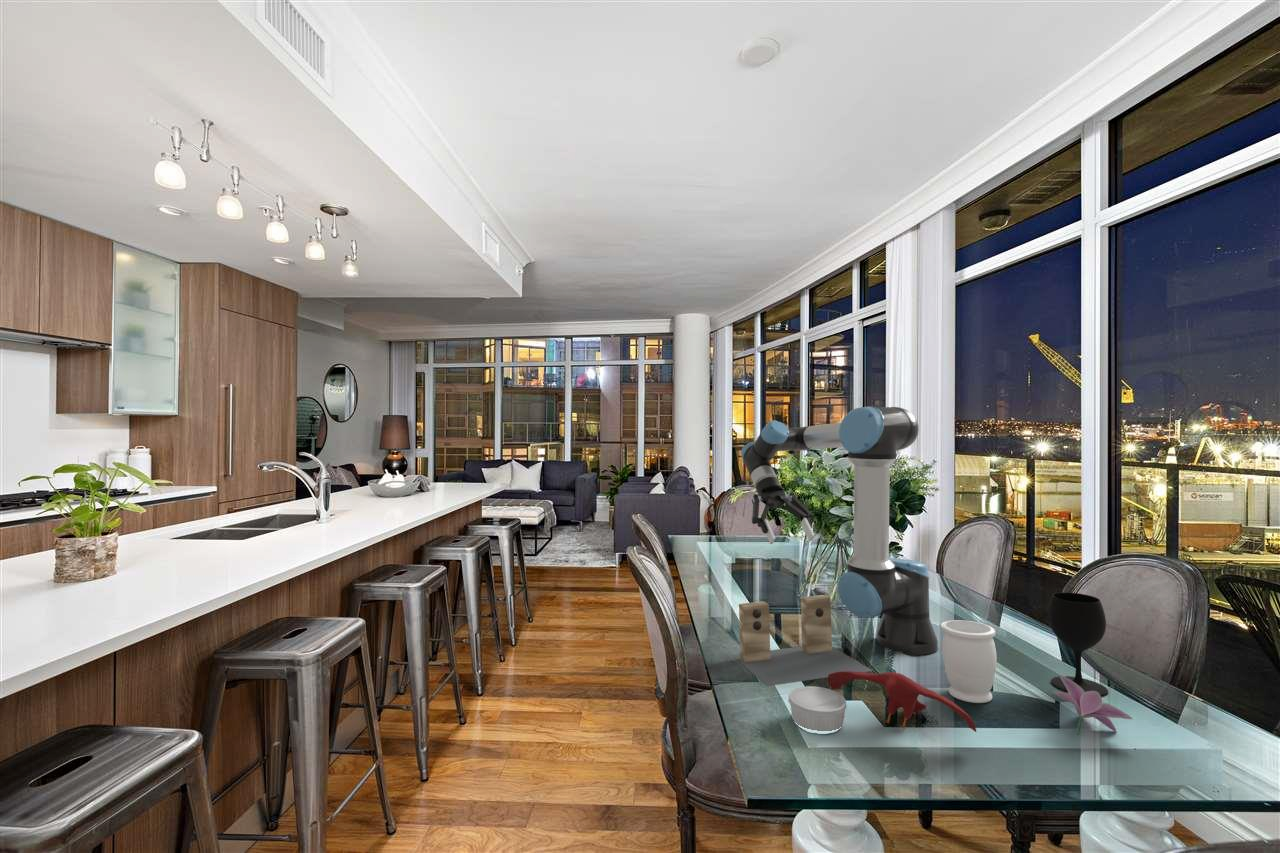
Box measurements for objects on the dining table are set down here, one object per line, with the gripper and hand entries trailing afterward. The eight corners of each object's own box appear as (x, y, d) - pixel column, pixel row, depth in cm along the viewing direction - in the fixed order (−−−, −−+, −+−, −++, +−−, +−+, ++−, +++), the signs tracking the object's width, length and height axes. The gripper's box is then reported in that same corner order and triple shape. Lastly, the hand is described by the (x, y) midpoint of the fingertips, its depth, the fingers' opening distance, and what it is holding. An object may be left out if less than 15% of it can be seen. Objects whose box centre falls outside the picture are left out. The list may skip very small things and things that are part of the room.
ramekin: (839, 744, 111) (838, 715, 111) (781, 729, 117) (780, 702, 117) (852, 719, 120) (852, 693, 121) (798, 706, 126) (797, 682, 126)
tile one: (802, 650, 157) (801, 597, 158) (825, 647, 159) (824, 594, 159) (809, 654, 154) (807, 600, 154) (832, 651, 156) (831, 598, 156)
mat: (826, 645, 162) (826, 643, 162) (873, 673, 143) (873, 670, 143) (732, 657, 155) (732, 655, 155) (767, 688, 136) (767, 685, 136)
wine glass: (1097, 680, 136) (1094, 593, 136) (1117, 699, 126) (1113, 605, 126) (1044, 675, 139) (1041, 590, 139) (1059, 694, 129) (1056, 602, 130)
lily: (1140, 756, 106) (1145, 702, 109) (1074, 729, 107) (1082, 676, 110) (1089, 744, 117) (1096, 695, 120) (1031, 720, 118) (1039, 672, 121)
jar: (977, 710, 123) (975, 637, 123) (933, 692, 132) (930, 624, 132) (1008, 699, 127) (1006, 629, 128) (963, 682, 137) (961, 616, 137)
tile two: (740, 658, 153) (738, 603, 153) (765, 655, 154) (763, 601, 155) (745, 663, 149) (744, 607, 150) (771, 659, 151) (769, 604, 151)
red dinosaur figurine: (838, 720, 129) (813, 683, 122) (851, 681, 134) (828, 644, 127) (983, 769, 109) (963, 729, 102) (992, 721, 114) (974, 680, 107)
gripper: (796, 489, 193) (824, 544, 178) (727, 493, 186) (750, 550, 171) (805, 474, 188) (834, 529, 173) (734, 477, 181) (758, 534, 166)
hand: (792, 539), depth 172 cm, fingers open, 12 cm apart
